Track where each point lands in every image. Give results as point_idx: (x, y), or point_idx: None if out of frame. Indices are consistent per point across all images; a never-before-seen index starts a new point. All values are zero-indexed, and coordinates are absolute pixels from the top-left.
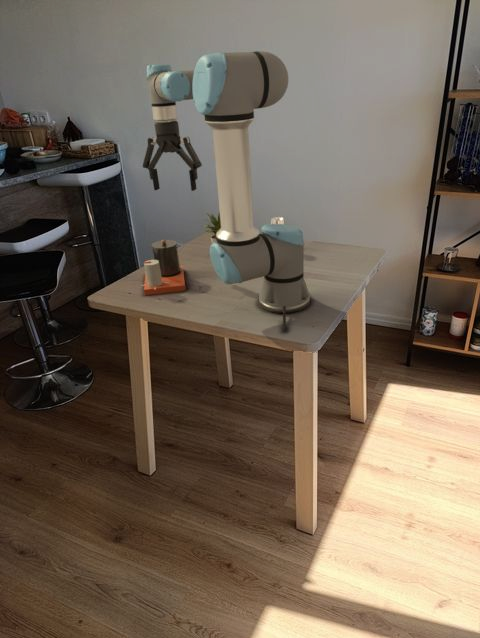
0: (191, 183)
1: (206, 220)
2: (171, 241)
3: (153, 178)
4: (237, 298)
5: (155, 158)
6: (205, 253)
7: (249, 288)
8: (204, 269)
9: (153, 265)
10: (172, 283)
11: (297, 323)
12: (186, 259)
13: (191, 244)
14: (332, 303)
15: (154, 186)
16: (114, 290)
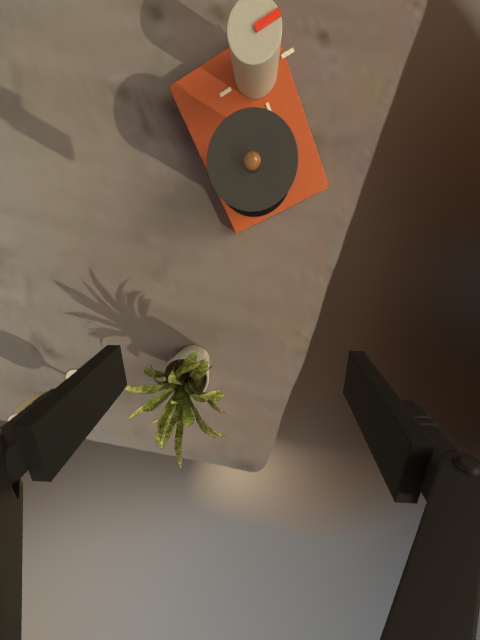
0: (91, 366)
1: (200, 394)
2: (236, 195)
3: (387, 394)
4: (24, 70)
5: (431, 588)
6: (228, 347)
7: (29, 144)
8: (188, 248)
9: (236, 5)
10: (208, 91)
11: None
12: (259, 306)
13: (284, 398)
14: None
15: (366, 363)
16: (380, 49)
